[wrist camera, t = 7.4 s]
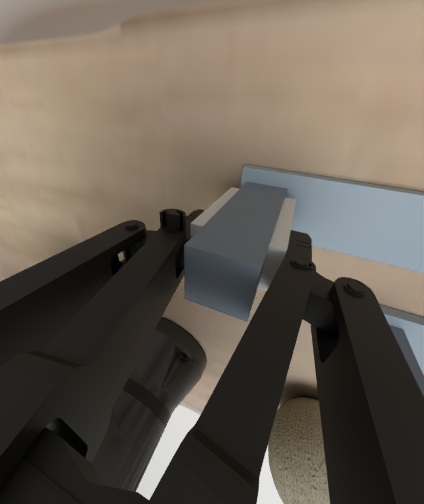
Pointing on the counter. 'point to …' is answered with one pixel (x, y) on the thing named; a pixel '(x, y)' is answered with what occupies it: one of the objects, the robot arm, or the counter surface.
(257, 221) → the strip
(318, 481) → the fruit
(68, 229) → the counter surface
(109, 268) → the robot arm
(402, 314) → the lane
